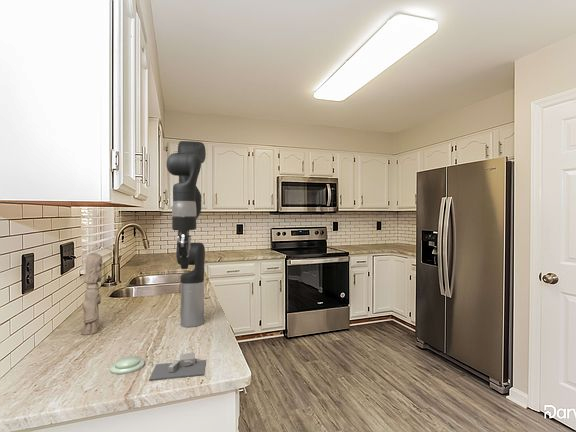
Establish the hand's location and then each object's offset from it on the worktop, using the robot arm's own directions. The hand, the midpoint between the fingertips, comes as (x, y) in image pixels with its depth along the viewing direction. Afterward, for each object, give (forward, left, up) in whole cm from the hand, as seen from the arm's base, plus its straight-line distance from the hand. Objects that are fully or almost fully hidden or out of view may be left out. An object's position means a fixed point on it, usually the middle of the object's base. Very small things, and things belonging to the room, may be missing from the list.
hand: (184, 268), depth 103 cm
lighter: (+7, 0, -25) cm, 26 cm away
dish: (+8, -15, -27) cm, 32 cm away
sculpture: (-27, -37, -27) cm, 53 cm away
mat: (+13, 0, -27) cm, 30 cm away
